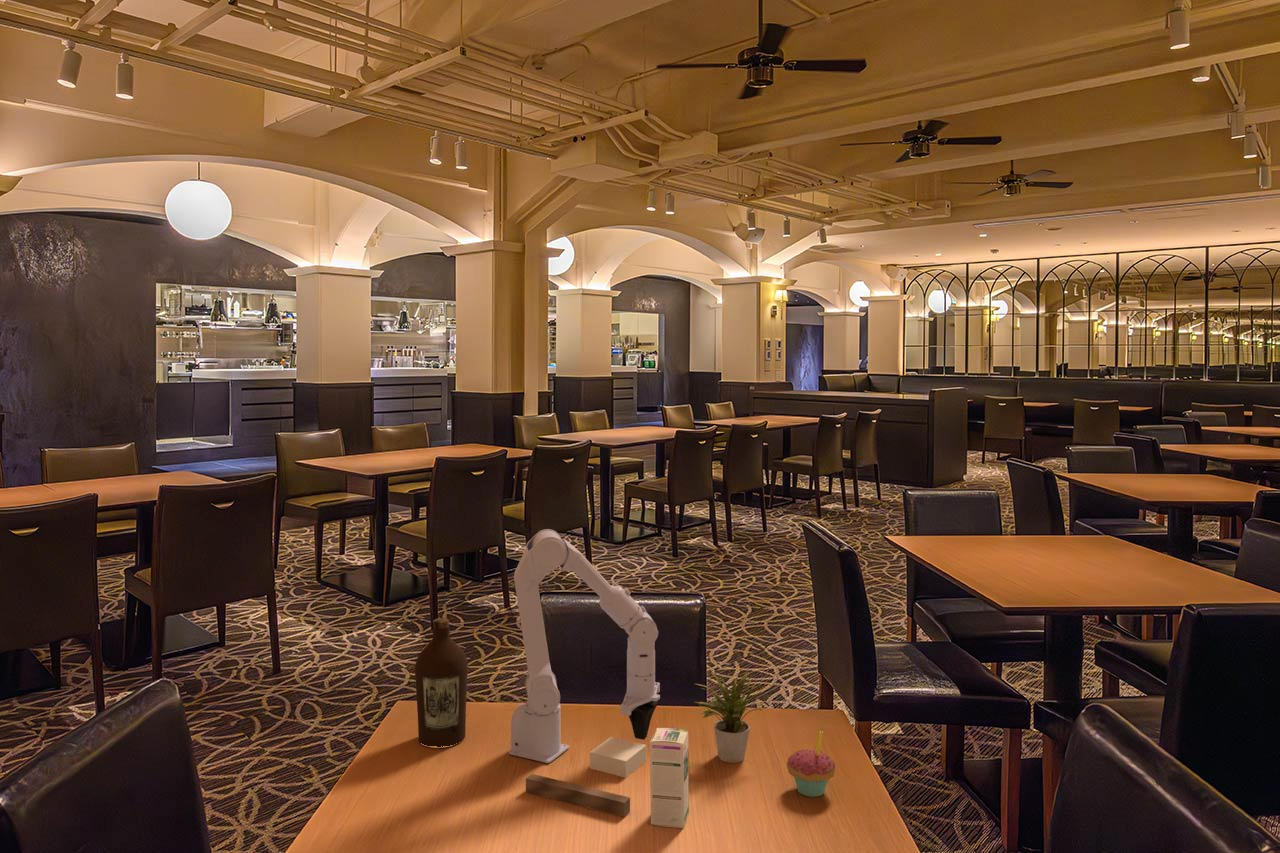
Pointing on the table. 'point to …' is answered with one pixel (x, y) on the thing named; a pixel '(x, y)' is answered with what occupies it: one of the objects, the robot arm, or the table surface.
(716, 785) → the table surface
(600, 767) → the wooden block
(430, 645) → the olive oil
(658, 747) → the syrup box
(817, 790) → the cupcake
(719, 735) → the house plant
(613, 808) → the stop rail
